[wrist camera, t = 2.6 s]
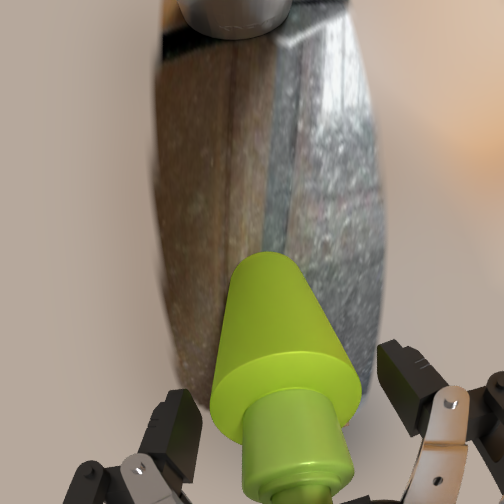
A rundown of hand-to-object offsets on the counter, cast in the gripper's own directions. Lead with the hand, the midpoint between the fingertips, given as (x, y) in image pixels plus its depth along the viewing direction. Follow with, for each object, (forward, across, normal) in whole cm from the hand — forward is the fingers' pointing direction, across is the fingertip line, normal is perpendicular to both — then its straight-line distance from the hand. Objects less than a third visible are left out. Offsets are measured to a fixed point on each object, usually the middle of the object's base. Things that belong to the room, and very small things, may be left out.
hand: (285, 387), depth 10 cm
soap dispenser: (+12, 0, 0) cm, 12 cm away
